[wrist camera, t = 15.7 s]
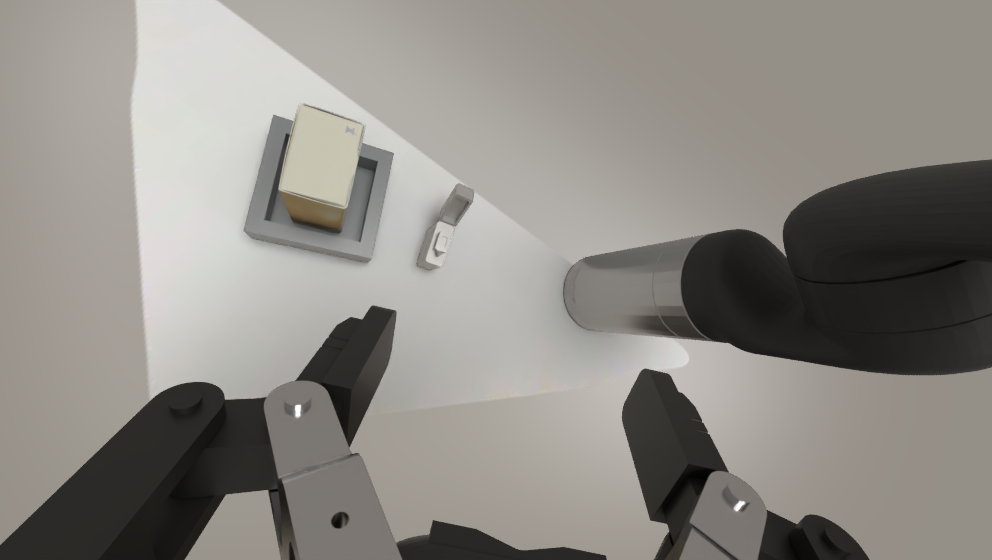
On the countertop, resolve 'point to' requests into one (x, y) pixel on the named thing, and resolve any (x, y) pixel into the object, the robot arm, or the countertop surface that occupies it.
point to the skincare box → (320, 167)
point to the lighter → (444, 228)
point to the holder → (277, 227)
